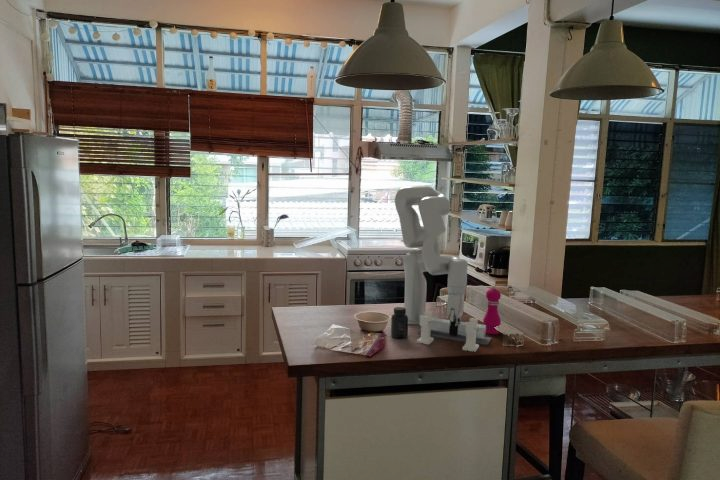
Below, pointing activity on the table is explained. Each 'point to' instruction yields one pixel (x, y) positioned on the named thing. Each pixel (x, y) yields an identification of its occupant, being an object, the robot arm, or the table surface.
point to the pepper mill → (492, 311)
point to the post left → (425, 328)
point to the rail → (445, 325)
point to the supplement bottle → (399, 324)
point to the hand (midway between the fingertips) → (454, 333)
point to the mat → (458, 337)
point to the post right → (471, 335)
